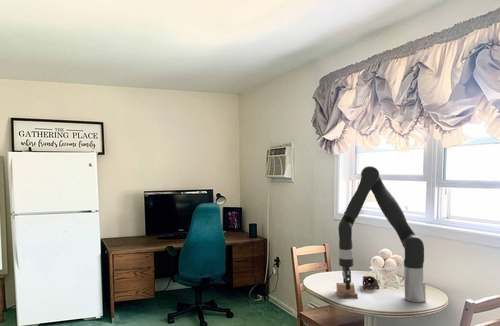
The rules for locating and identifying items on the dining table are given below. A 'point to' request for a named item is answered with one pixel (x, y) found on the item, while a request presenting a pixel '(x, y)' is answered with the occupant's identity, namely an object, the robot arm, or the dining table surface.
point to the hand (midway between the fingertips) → (346, 286)
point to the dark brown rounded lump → (370, 282)
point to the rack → (348, 295)
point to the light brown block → (344, 288)
